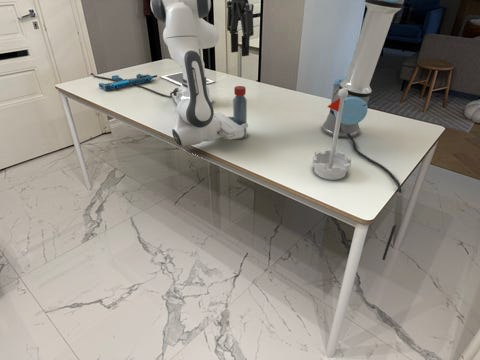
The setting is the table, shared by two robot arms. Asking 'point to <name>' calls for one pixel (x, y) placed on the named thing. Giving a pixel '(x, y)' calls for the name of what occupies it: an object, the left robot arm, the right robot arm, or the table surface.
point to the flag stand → (333, 149)
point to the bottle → (240, 112)
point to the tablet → (180, 78)
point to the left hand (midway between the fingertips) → (241, 121)
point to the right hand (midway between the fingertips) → (239, 53)
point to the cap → (239, 90)
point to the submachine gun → (126, 81)
